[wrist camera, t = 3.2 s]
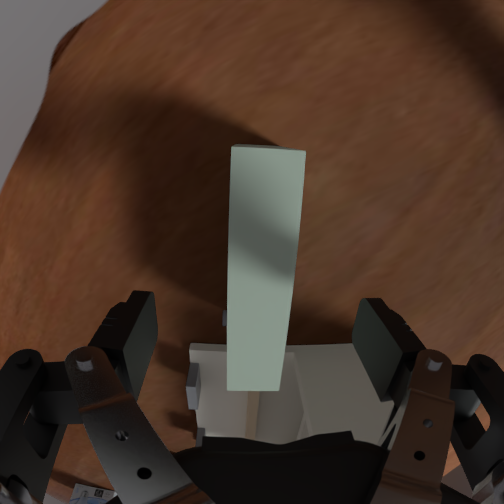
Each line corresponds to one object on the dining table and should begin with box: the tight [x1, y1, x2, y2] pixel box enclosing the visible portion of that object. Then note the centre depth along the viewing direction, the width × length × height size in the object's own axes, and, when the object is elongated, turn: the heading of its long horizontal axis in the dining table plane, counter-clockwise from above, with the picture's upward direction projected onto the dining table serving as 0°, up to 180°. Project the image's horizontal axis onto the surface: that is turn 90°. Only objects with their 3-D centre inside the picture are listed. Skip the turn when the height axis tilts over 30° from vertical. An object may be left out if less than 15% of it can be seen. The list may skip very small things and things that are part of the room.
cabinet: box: [186, 343, 394, 447], centre depth 23 cm, size 19×16×12 cm
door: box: [223, 144, 306, 391], centre depth 18 cm, size 3×13×9 cm, turn 177°
